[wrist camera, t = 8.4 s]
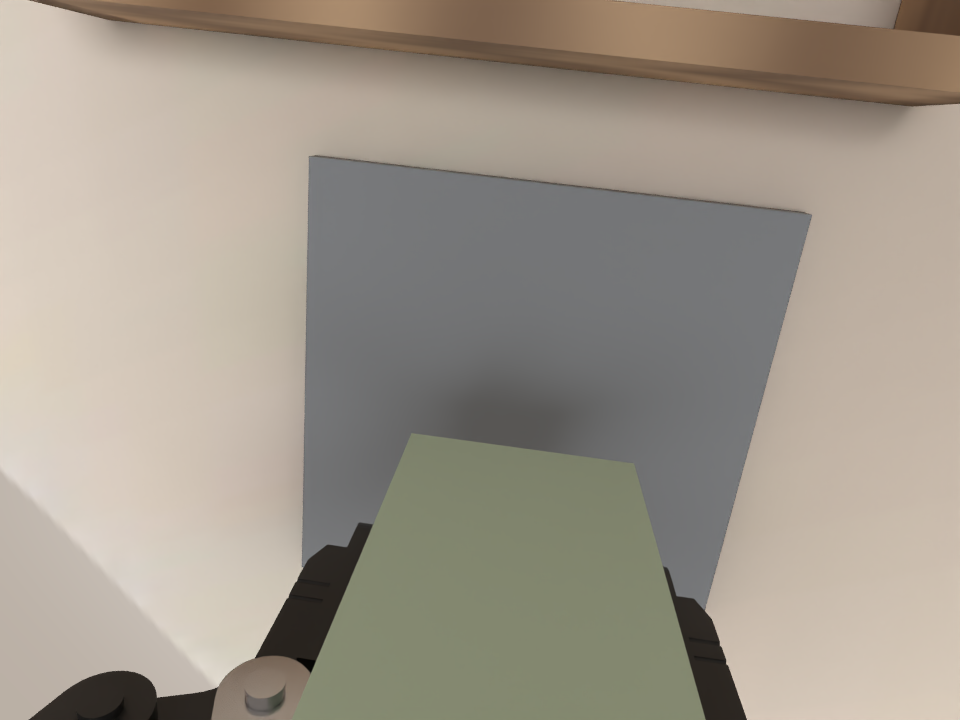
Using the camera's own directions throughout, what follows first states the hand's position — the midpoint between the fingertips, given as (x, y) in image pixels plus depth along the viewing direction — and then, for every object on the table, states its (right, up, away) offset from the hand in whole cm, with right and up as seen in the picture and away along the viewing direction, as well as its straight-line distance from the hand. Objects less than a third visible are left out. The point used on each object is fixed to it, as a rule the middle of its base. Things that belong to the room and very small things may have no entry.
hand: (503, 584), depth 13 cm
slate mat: (+1, +3, +9) cm, 9 cm away
